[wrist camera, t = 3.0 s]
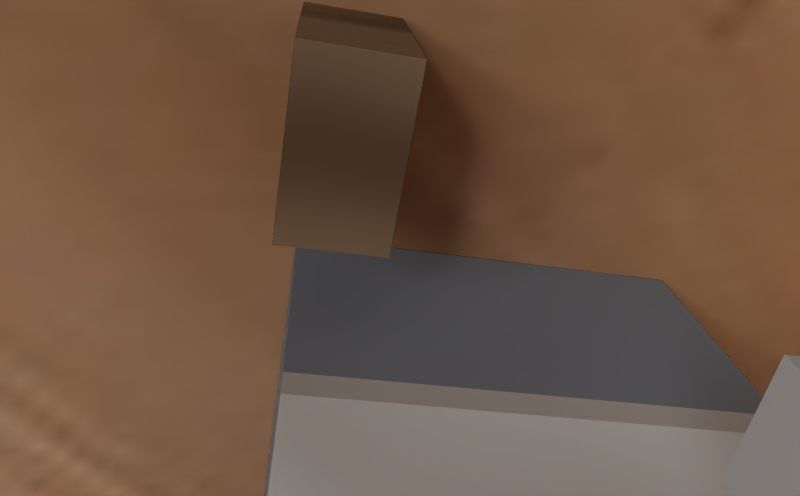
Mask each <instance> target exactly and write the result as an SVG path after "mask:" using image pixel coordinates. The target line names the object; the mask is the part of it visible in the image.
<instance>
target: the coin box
mask: <svg viewBox="0 0 800 496" xmlns="http://www.w3.org/2000/svg"><path fill="white" fill-rule="evenodd" d="M762 398H763V396H762V395H761V394H760V393H759V392H758V391H757V390H756V388H755V387H754V386H753V385H752V384H751V383H750V381H749V380H748V379H747V378H746V377H745V376H744V375H743V373H742V372H741V371H740V370H739V369H738V368H737V366H736V365H735V364H734V363H733V362H732V361H731V360H730V358H729V357H728V356H727V355H726V354H725V353H724V351H723V350H722V349H721V348H720V347H719V346H718V345H717V343H716V342H715V341H714V340H713V339H712V338H711V336H710V335H709V334H708V333H707V332H706V331H705V330H704V328H703V327H702V326H701V325H700V324H699V323H698V321H697V320H696V319H695V318H694V317H693V316H692V315H691V313H690V312H689V311H688V310H687V309H686V308H685V306H684V305H683V304H682V303H681V302H680V301H679V300H678V298H677V297H676V296H675V295H674V294H673V293H672V291H671V290H670V289H669V288H668V287H667V286H666V284H665V283H664V282H663V281H662V280H654V279H646V278H637V277H629V276H621V275H613V274H604V273H596V272H588V271H579V270H571V269H563V268H554V267H546V266H538V265H529V264H521V263H513V262H505V261H496V260H488V259H480V258H471V257H463V256H455V255H446V254H438V253H430V252H421V251H413V250H405V249H397V248H391V251H390V256H389V258H383V257H375V256H366V255H358V254H350V253H341V252H333V251H324V250H316V249H307V248H299V247H295V255H294V263H293V271H292V279H291V287H290V295H289V303H288V311H287V319H286V327H285V335H284V343H283V351H282V359H281V367H280V375H279V383H278V391H277V399H276V407H275V415H274V423H273V431H272V439H271V447H270V455H269V463H268V471H267V479H266V487H265V495H264V496H730V494H729V493H728V491H727V490H726V488H725V487H724V485H723V484H722V482H721V481H722V479H723V477H724V475H725V473H726V471H727V469H728V467H729V465H730V463H731V461H732V459H733V457H734V455H735V453H736V451H737V449H738V447H739V445H740V443H741V441H742V439H743V437H744V435H745V433H746V431H747V429H748V427H749V425H750V423H751V421H752V419H753V417H754V415H755V413H756V411H757V409H758V406H759V404H760V402H761V400H762Z"/></svg>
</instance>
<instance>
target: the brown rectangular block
mask: <svg viewBox="0 0 800 496" xmlns="http://www.w3.org/2000/svg"><path fill="white" fill-rule="evenodd" d="M426 63H427V58H426V57H425V55H424V53H423V52H422V50H421V48H420V46H419V45H418V43H417V41H416V40H415V38H414V36H413V35H412V33H411V31H410V30H409V28H408V26H407V25H406V23H405V21H404V20H403V19H402V18H396V17H390V16H384V15H379V14H373V13H367V12H361V11H356V10H350V9H344V8H338V7H332V6H327V5H321V4H315V3H309V2H304V4H303V8H302V12H301V16H300V19H299V23H298V27H297V31H296V35H295V40H294V49H293V58H292V68H291V77H290V86H289V95H288V104H287V114H286V123H285V132H284V141H283V151H282V160H281V169H280V178H279V187H278V197H277V206H276V215H275V224H274V233H273V243H272V244H273V245H282V246H290V247H299V248H307V249H316V250H324V251H333V252H341V253H350V254H358V255H366V256H375V257H383V258H389V256H390V251H391V245H392V240H393V235H394V230H395V225H396V219H397V214H398V209H399V204H400V198H401V193H402V188H403V183H404V178H405V172H406V167H407V162H408V157H409V151H410V146H411V141H412V136H413V131H414V125H415V120H416V115H417V110H418V104H419V99H420V94H421V89H422V84H423V78H424V73H425V68H426Z"/></svg>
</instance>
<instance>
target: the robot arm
mask: <svg viewBox="0 0 800 496" xmlns="http://www.w3.org/2000/svg"><path fill="white" fill-rule="evenodd" d="M721 482H722V484H723V485H724V487H725V488H726V490H727V491H728V493H729V494H730V496H800V356H793V355H784V356H783V358H782V360H781V362H780V364H779V366H778V368H777V370H776V372H775V374H774V376H773V378H772V380H771V382H770V384H769V386H768V388H767V390H766V392H765V394H764V396H763V398H762V400H761V402H760V404H759V406H758V409H757V411H756V413H755V415H754V417H753V419H752V421H751V423H750V425H749V427H748V429H747V431H746V433H745V435H744V437H743V439H742V441H741V443H740V445H739V447H738V449H737V451H736V453H735V455H734V457H733V459H732V461H731V463H730V465H729V467H728V469H727V471H726V473H725V475H724V477H723V479H722V481H721Z"/></svg>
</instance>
